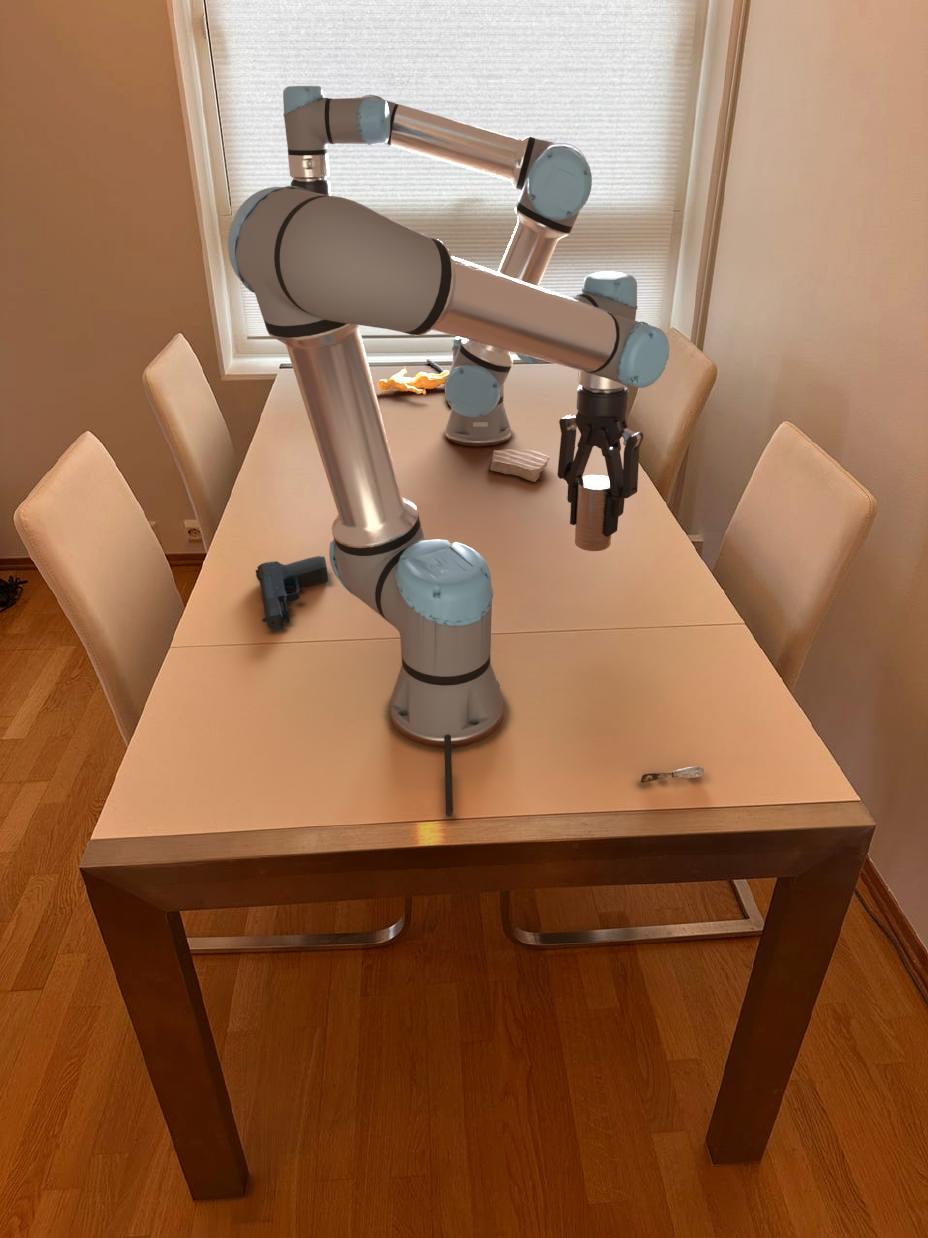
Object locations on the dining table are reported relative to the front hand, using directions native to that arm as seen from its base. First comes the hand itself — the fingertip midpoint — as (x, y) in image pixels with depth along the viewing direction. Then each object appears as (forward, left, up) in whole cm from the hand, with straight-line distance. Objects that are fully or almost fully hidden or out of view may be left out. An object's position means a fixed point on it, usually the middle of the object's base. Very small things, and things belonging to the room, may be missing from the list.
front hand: (593, 527), depth 143 cm
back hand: (+50, +62, +23) cm, 83 cm away
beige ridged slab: (+48, +19, -11) cm, 53 cm away
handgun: (-13, +47, -11) cm, 50 cm away
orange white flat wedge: (+99, +54, -11) cm, 113 cm away
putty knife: (-45, -14, -11) cm, 49 cm away
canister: (0, 0, -3) cm, 3 cm away
